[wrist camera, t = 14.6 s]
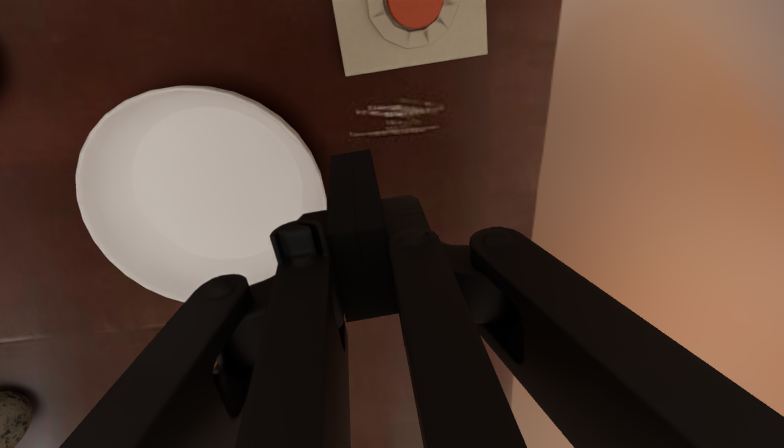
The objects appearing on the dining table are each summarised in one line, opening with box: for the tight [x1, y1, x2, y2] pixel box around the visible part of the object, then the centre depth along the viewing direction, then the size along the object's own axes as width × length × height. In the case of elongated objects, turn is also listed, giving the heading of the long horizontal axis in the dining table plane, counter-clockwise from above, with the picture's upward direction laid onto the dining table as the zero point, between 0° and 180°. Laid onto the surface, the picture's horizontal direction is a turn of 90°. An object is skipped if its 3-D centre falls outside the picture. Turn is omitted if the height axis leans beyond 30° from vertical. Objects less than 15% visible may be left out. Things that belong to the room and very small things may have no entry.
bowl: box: [76, 85, 327, 302], centre depth 39 cm, size 20×20×6 cm
